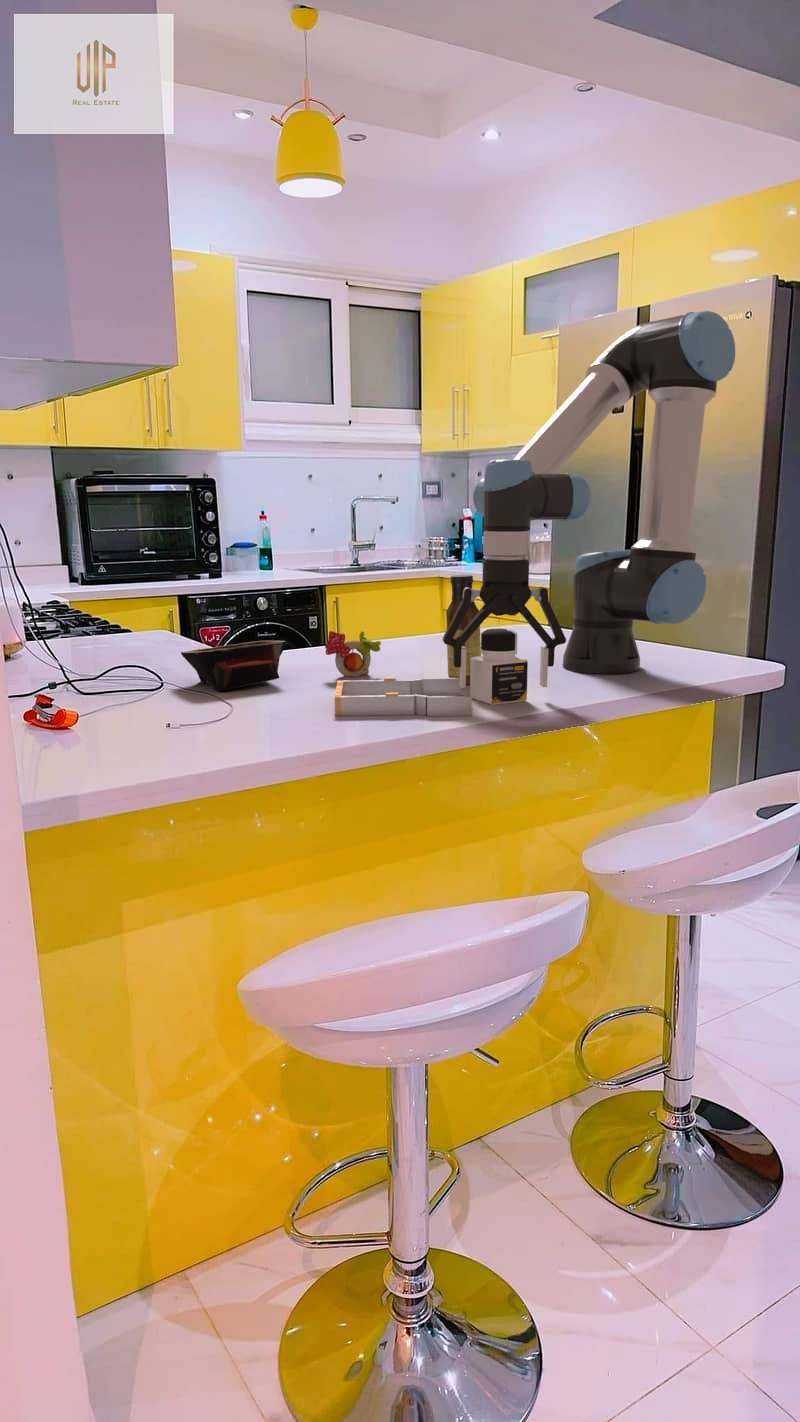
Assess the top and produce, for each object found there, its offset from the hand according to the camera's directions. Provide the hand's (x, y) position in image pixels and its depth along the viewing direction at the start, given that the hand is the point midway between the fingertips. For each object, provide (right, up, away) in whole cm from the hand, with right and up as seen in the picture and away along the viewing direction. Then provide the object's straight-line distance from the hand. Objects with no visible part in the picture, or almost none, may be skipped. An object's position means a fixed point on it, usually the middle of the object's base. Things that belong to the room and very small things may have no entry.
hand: (503, 686), depth 154 cm
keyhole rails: (-16, -3, -2) cm, 17 cm away
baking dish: (-46, 0, +17) cm, 49 cm away
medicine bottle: (-1, -2, +2) cm, 3 cm away
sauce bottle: (-5, +1, +17) cm, 18 cm away
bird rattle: (-26, +2, +23) cm, 35 cm away
